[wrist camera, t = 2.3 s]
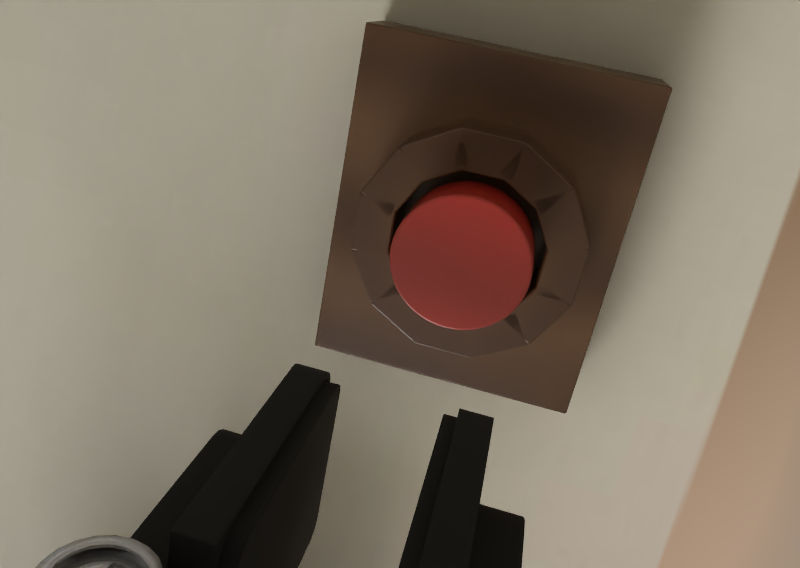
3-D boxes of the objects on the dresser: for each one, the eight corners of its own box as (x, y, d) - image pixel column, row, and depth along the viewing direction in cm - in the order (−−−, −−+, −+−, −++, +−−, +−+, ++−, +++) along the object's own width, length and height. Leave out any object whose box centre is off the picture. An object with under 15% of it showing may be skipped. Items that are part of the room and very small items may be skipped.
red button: (415, 166, 21) (403, 178, 20) (551, 198, 21) (549, 214, 19) (391, 289, 23) (377, 311, 21) (516, 322, 22) (512, 347, 21)
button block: (382, 20, 23) (349, 23, 20) (663, 80, 22) (682, 95, 19) (332, 321, 28) (297, 369, 24) (565, 383, 27) (566, 444, 23)
